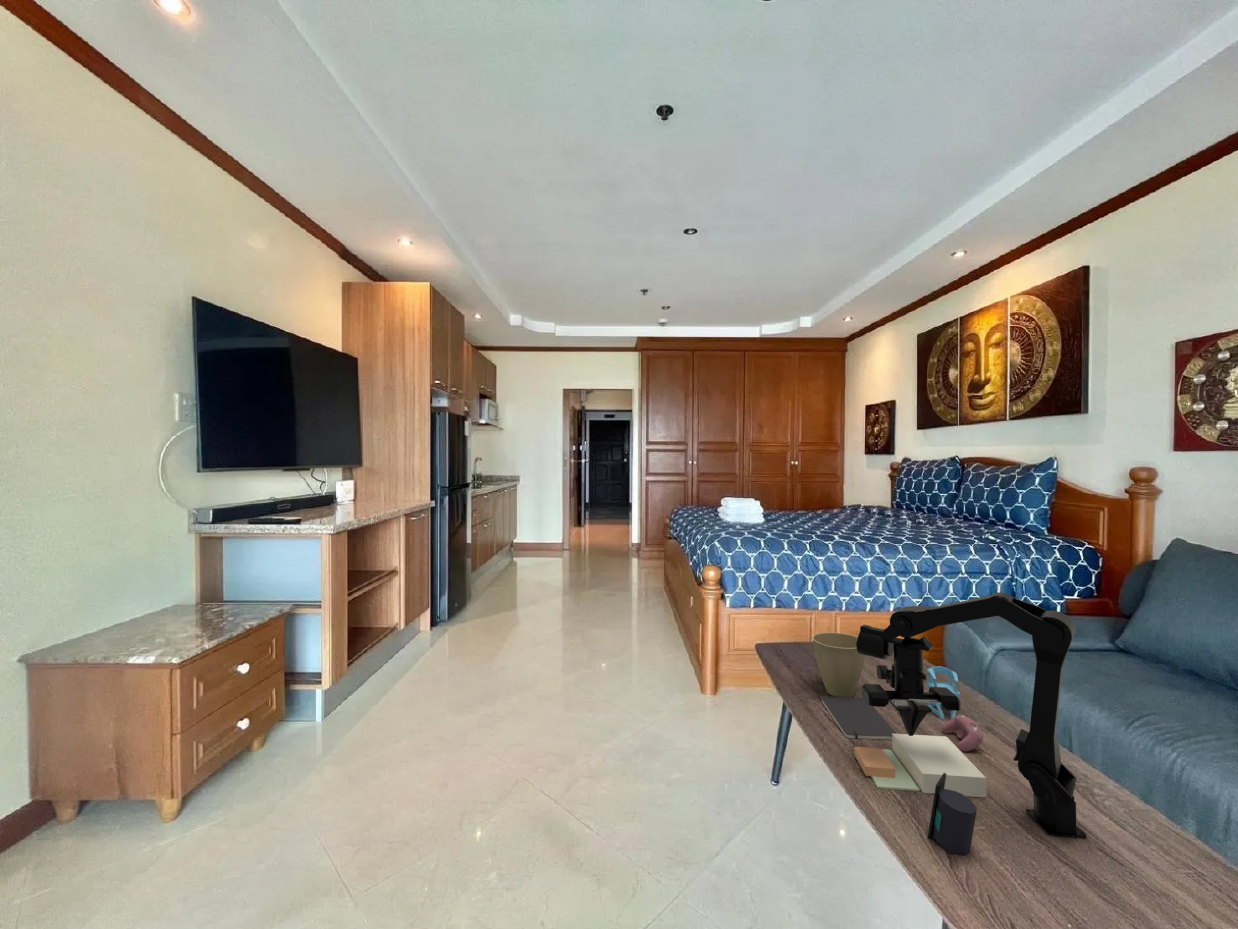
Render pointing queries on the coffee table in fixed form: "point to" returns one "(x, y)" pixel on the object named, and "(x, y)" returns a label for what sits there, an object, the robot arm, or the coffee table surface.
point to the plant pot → (838, 662)
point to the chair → (949, 685)
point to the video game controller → (964, 732)
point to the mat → (896, 776)
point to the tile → (874, 762)
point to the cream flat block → (938, 764)
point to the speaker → (952, 819)
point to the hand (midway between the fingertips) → (910, 735)
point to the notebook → (857, 718)
